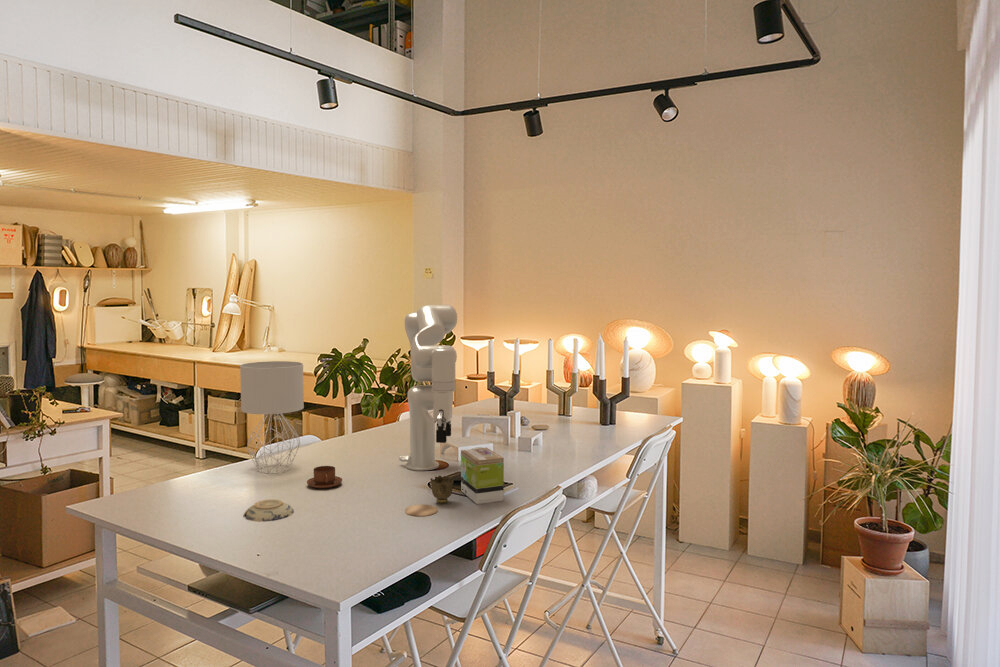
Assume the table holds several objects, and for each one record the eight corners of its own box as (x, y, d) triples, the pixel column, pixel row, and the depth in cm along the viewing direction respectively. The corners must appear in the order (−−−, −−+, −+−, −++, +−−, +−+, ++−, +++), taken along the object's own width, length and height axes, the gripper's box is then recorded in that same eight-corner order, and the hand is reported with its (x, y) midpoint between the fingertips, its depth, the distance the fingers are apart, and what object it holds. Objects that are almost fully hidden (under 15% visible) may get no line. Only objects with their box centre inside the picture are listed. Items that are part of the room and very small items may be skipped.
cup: (442, 497, 232) (442, 473, 232) (458, 502, 228) (458, 478, 227) (425, 503, 227) (425, 478, 226) (442, 507, 222) (442, 482, 221)
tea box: (459, 492, 239) (460, 449, 238) (487, 488, 243) (487, 446, 242) (475, 504, 225) (476, 459, 224) (504, 501, 229) (505, 456, 228)
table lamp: (237, 479, 253) (235, 368, 250) (247, 463, 275) (245, 361, 272) (302, 476, 257) (300, 367, 254) (306, 460, 279) (305, 360, 276)
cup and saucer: (348, 486, 245) (348, 469, 245) (316, 493, 237) (316, 475, 237) (332, 479, 254) (331, 462, 254) (300, 485, 246) (300, 467, 246)
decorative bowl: (304, 514, 217) (276, 503, 226) (304, 502, 216) (276, 492, 226) (260, 527, 205) (233, 515, 215) (260, 515, 205) (232, 504, 214)
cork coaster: (401, 515, 214) (401, 514, 214) (408, 505, 224) (408, 503, 224) (434, 516, 213) (434, 515, 213) (440, 506, 223) (440, 505, 223)
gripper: (436, 382, 234) (436, 433, 235) (427, 390, 217) (427, 445, 218) (459, 382, 233) (459, 433, 234) (451, 390, 216) (451, 445, 217)
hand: (443, 439), depth 226 cm, fingers open, 9 cm apart
